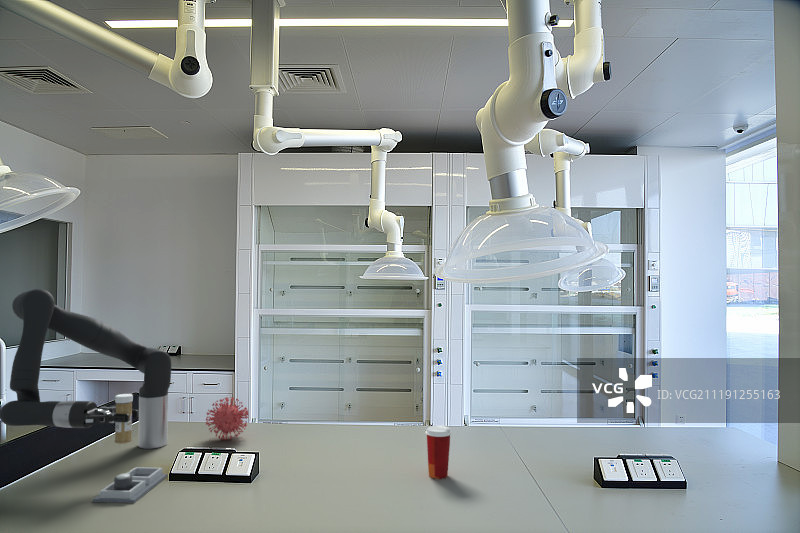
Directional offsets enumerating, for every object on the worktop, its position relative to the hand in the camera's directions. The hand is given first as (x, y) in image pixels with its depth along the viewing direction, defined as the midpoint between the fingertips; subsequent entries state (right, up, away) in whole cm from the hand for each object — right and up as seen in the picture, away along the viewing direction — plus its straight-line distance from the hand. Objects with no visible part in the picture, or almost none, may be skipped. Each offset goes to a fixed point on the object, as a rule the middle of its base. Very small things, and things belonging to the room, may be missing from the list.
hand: (133, 415), depth 164 cm
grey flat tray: (+3, -19, -6) cm, 20 cm away
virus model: (+14, -20, +42) cm, 49 cm away
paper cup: (+88, -20, +7) cm, 91 cm away
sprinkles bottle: (-3, -8, 0) cm, 8 cm away
